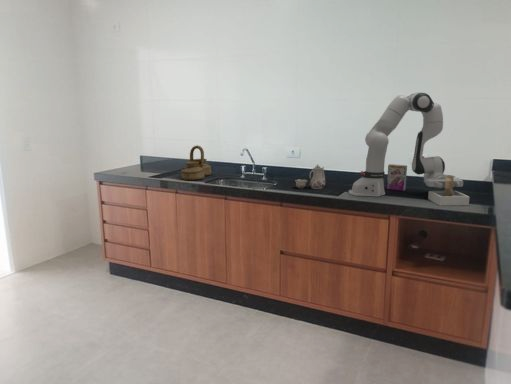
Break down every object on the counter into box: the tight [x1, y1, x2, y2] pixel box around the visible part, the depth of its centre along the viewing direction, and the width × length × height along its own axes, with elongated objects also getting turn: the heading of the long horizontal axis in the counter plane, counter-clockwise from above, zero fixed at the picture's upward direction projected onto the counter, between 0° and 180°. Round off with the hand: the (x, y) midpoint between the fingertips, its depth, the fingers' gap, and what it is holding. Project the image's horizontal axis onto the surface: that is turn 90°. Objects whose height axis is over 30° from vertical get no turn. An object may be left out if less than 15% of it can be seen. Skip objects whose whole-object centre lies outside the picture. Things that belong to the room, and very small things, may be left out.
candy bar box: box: [386, 163, 408, 192], centre depth 271 cm, size 11×5×16 cm, turn 55°
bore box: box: [427, 190, 470, 207], centre depth 237 cm, size 16×16×5 cm
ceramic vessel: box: [180, 145, 212, 181], centre depth 322 cm, size 34×18×25 cm, turn 169°
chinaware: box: [294, 163, 327, 190], centre depth 282 cm, size 28×17×17 cm, turn 134°
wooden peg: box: [444, 175, 455, 196], centre depth 236 cm, size 4×4×14 cm
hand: (450, 185), depth 235 cm, fingers open, 8 cm apart
